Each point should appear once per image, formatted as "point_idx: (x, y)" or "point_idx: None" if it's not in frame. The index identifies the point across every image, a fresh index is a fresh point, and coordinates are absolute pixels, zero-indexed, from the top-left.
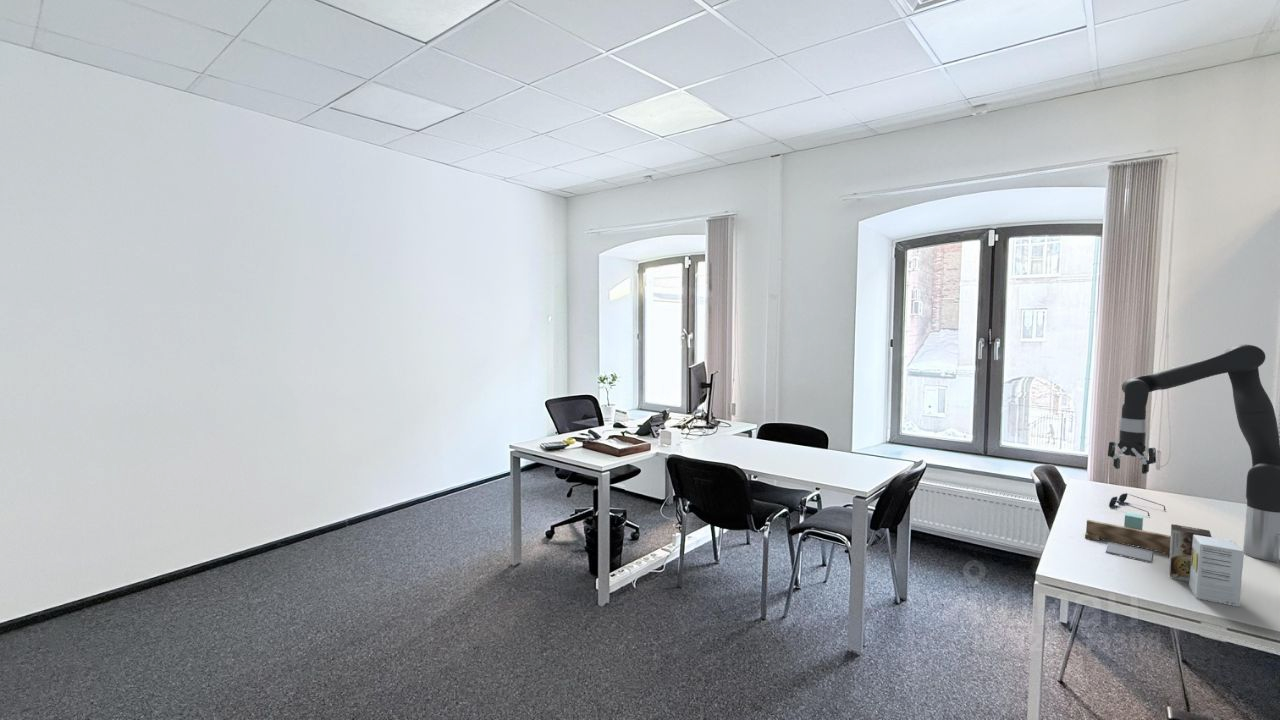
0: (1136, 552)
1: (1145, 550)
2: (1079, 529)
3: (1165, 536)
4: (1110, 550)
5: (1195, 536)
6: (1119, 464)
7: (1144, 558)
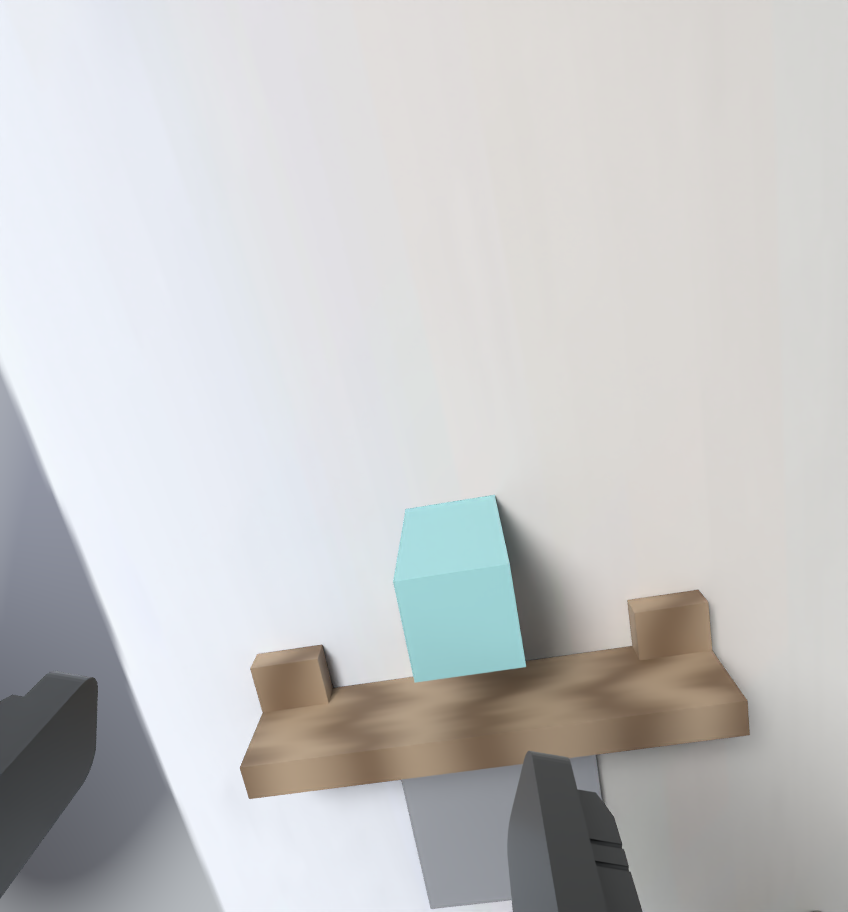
0: None
1: None
2: (205, 629)
3: (667, 744)
4: (443, 886)
5: None
6: (44, 746)
7: None
